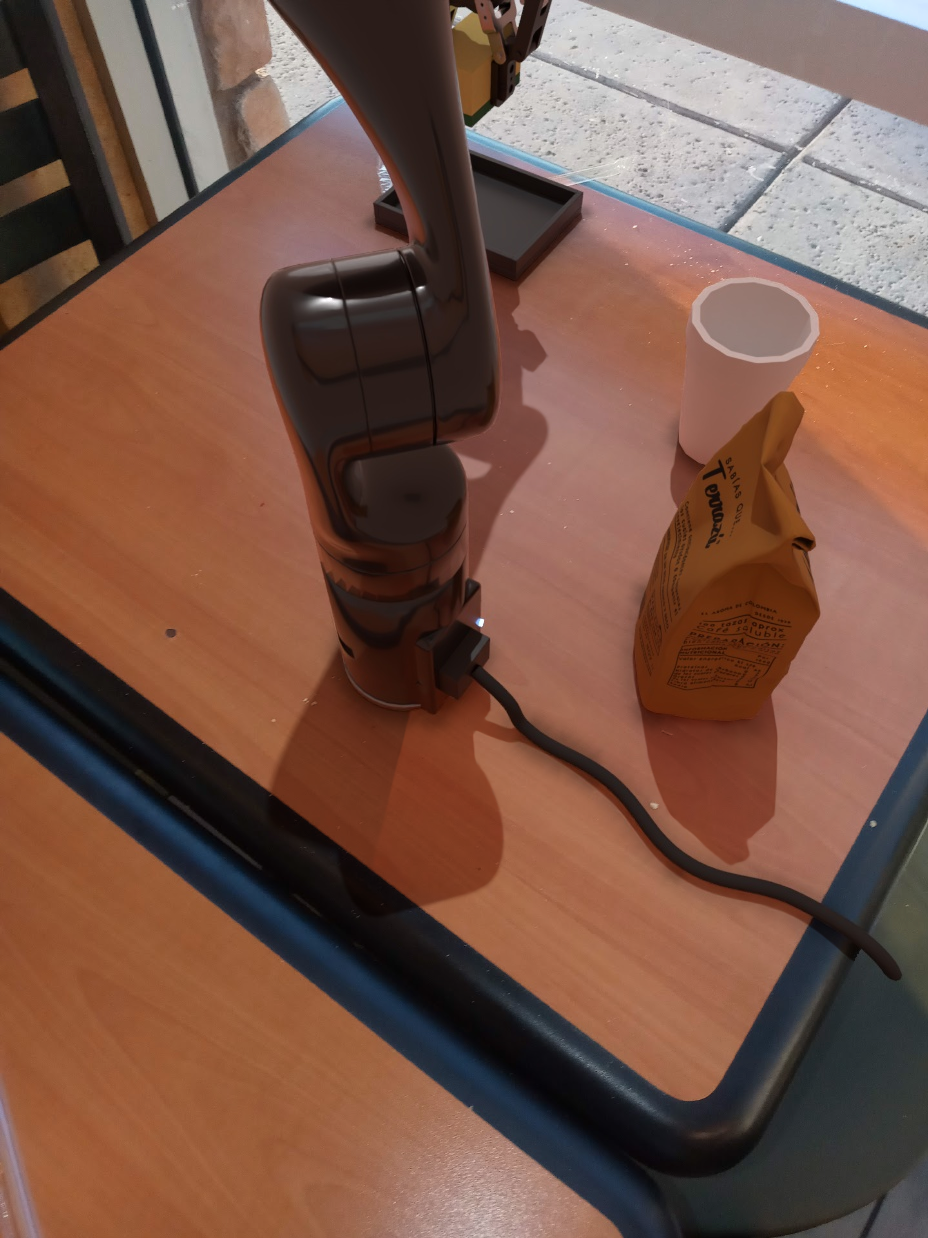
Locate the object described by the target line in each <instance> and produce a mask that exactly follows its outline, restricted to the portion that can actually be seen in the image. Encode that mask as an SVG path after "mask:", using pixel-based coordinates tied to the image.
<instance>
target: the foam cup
mask: <svg viewBox="0 0 928 1238" xmlns="http://www.w3.org/2000/svg"><path fill="white" fill-rule="evenodd" d="M819 321H820V319H819V313H817V312H816V310H815V309H814V307H813V306H812V305H811V304H810V302H809V301H808V299H807V298H806V297H805V296H804V295H802V294H800V293H799V292H797V291H795V290H794V289H792V288H791V287H788V286H787V285H786V284H783V283H782V282H777V281H773V280H769V279H764V278H760V277H757V276H748V277H731V278H725V279H723V280H720V281H718V282H716V283H713V284H711V285H709V286H706V287H704V288H703V289H702V290H701V292H700V293H699V294H698V296H697V297H696V298H695V300H694V301H693V302H692V304H691V308H690V311H689V314H688V319H687V323H686V327H685V348H686V351H685V362H684V363H685V364H684V374H683V384H682V395H681V403H680V415H679V429H678V443H679V445H680V447H681V448H682V450H683V452H684V454H685V455H687V457H690V459H692V460H694V461H695V462H697V463H698V464H700V465H704V466H705V465H706V464H707V463H708V462H709V461H710V460H711V458H712V457H713V456H714V454H715V453H716V452H717V451H718V450H719V449H720V448H721V447H723V446H724V445H725V444H726V443H727V442H729V441H730V440H731V439H732V438H733V437H734V436H735V435H736V433H737V432H738V431H739V430H740V429H741V428H742V426H743V425H744V424H746V423H747V422H748V421H749V420H750V419H751V418H752V417H753V416H754V415H755V414H756V413H758V412H760V411H761V410H762V409H763V408H764V406H765V405H766V404H767V403H768V402H769V401H770V400H771V399H772V398H773V397H774V396H775V395H776V394H778V393H779V392H780V391H782V392H788V390H789V388H790V387H791V385H792V384H793V382H794V381H795V379H796V378H797V376H799V375H800V373H801V372H802V371H803V369H804V368H805V366H806V365H807V363H808V362H809V360H810V359H811V356H812V354H813V351H814V349H815V346H816V344H817V342H818V339H819V337H820V335H821V333H820V322H819Z"/></svg>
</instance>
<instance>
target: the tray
mask: <svg viewBox="0 0 928 1238" xmlns="http://www.w3.org/2000/svg"><path fill="white" fill-rule="evenodd" d="M469 154H470V160H471V166H472V172H473V178H474V184H475V190H476V196H477V202H478V207H479V213H480V219H481V225H482V231H483V237H484V243H485V249H486V255H487V261H488V266H489V272H490V271H491V272H493V273H495V274H497V275H500V276H503V277H505V278H508V279H510V280H513V281H514V282H516V281H517V280H518V279H519V278H520V277H521V276H522V275H523V274H524V273H525V272H526V271H527V269H529V267H530V266H532V264H533V263H535V261H536V260H537V259H538V258H539V257H540V256H541V255H542V254H543V253H544V252H545V251H546V250H547V248H549V247H550V246H551V244H552V243H553V242H554V241H555V240H556V239H557V238H558V237H559V236H560V235H561V234H562V233H563V232H564V231H565V230H566V229H567V228H568V226H570V225H571V224H572V222H573V221H574V220H575V219H576V218H577V217H578V216H579V215H580V214H581V213H582V208H583V201H584V193H585V192H584V191H582V190H579V189H577V188H574V187H571V186H568V185H566V184H564V183H561V182H558V181H555V180H553V179H550V178H548V177H545V176H542V175H540V174H537V173H535V172H531V171H528V170H526V169H523V168H521V167H517V166H515V165H513V164H509V163H507V162H505V161H501V160H499V159H496V158H494V157H491V156H488V155H485V154H483V153H482V152H481V153H480V152H478V151H475V150H472V149H470V148H469ZM372 204H373V213H374V214H373V216H374V221H375V224H378V225H380V226H382V227H386V228H387V229H390V230H393V231H394V232H397V233H400V234H403V235H404V236H408V237H409V234H408V229H407V224H406V220H405V217H404V213H403V210H402V207H401V204H400V201H399V198H398V196H397V193H396V191H395V188H394V186H393V185H392V186H391V187H389V188H388V189H387V190H386V191H385V192H384V193H382V194H381V195H380V196H379V197H378V198H376V199H375V200H374V201H373V202H372Z"/></svg>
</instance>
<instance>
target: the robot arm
mask: <svg viewBox="0 0 928 1238" xmlns="http://www.w3.org/2000/svg"><path fill="white" fill-rule="evenodd" d="M266 1H267V2H268V4H269V5H270V6H271V7H272V9H273V10H274V11H275V12H276V14H277V15H278V16H279V17H280V18H281V20H282V21H283V23H285V26H287V28H288V29H289V30H290V31H291V33H292V34H293V35H294V36H295V37H296V38H297V40H298V41H299V42H300V43H301V45H302V46H303V47H304V48H305V50H306V51H307V53H309V55H310V56H311V57H312V58H313V59H314V60H315V62H316V64H318V66H319V67H320V69H321V70H322V71H323V73H324V74H325V75H326V76H327V78H328V79H329V80H330V82H331V83H332V85H333V86H334V88H336V90H337V91H338V92H339V94H340V96H341V97H342V99H343V100H344V102H345V103H346V105H347V106H348V107H349V109H350V111H351V112H352V114H353V115H354V117H355V119H356V121H357V122H358V123H359V125H360V126H361V128H362V129H363V131H364V133H365V135H366V136H367V138H368V139H369V141H370V142H371V144H372V146H373V148H374V149H375V152H376V153H377V155H378V156H379V158H380V160H381V162H382V164H383V166H384V168H385V170H386V172H387V175H388V177H389V178H390V179H389V180H390V181H391V184H392V186H394V188H395V191H396V193H397V196H398V198H399V201H400V204H401V207H402V210H403V213H404V217H405V220H406V224H407V229H408V234H409V236H408V244H407V245H405V246H399V247H397V248H393V247H392V248H386V249H380V250H374V251H367V252H361V253H357V254H351V255H350V254H349V255H343V256H338V257H337V256H336V257H332V258H330V259H321V260H316V261H315V260H314V261H310V262H303V263H298V264H293V265H288V266H285V267H282V268H279V269H277V270H275V271H274V272H272V273H271V274H270V276H269V277H268V278H267V280H266V281H265V283H264V285H263V288H262V291H261V296H260V300H259V309H258V320H259V321H258V322H259V323H258V325H259V335H260V342H261V346H262V352H263V357H264V362H265V367H266V371H267V373H268V378H269V381H270V384H271V388H272V391H273V395H274V398H275V401H276V404H277V408H278V410H279V413H280V416H281V419H282V422H283V426H284V429H285V431H286V434H287V436H288V441H289V442H290V443H289V444H290V446H291V449H292V451H293V455H294V458H295V462H296V466H297V468H298V471H299V475H300V476H299V477H300V480H301V483H302V489H303V492H304V493H303V494H304V497H305V503H306V509H307V513H308V518H309V522H310V526H311V529H312V534H313V539H314V542H315V546H316V551H317V554H318V559H319V563H320V567H321V571H322V576H323V580H324V584H325V587H326V592H327V596H328V600H329V605H330V608H331V612H329V613H330V615H332V616H333V617H332V616H330V618H331V621H332V622H331V623H332V624H333V625H332V626H333V628H334V632H335V634H336V635H335V636H336V640H337V643H338V646H339V650H340V653H341V657H342V662H343V667H344V671H345V674H346V676H347V679H348V681H349V683H350V684H351V686H352V687H353V688H354V689H355V691H356V692H357V693H358V694H359V695H360V696H361V697H363V698H364V699H366V700H367V701H368V702H370V703H372V704H374V705H376V706H378V707H381V708H384V709H387V710H393V711H401V712H402V711H403V712H405V711H408V712H409V711H417V710H423V711H425V712H427V713H428V714H430V715H433V716H434V715H437V714H438V713H439V712H440V710H441V708H442V707H443V706H444V704H445V703H446V702H447V701H448V699H449V698H450V697H451V698H452V699H454V700H456V701H459V700H460V699H461V698H462V696H463V695H464V694H465V692H466V691H467V689H468V688H469V687H470V685H471V684H472V683H473V682H474V681H475V682H476V683H477V684H479V686H480V687H482V688H483V689H484V690H485V691H486V692H488V694H490V695H491V696H492V697H493V698H494V700H496V702H498V703H499V704H500V706H501V707H502V708H503V710H504V711H505V712H506V714H507V717H508V718H509V720H510V722H511V724H512V725H513V727H514V728H515V729H516V730H517V732H519V733H520V734H521V735H522V736H523V737H525V738H526V739H527V740H528V741H529V742H531V743H532V744H533V745H535V746H536V747H538V748H539V749H540V750H542V751H544V752H546V753H547V754H549V755H552V756H553V757H555V758H557V759H559V760H561V761H563V762H564V763H567V764H568V765H571V766H573V767H575V768H576V769H578V770H580V771H582V772H584V773H585V774H587V775H588V776H590V777H591V778H593V779H594V780H596V781H597V782H599V783H600V784H601V785H602V786H604V787H605V788H606V789H607V790H608V791H610V793H612V794H613V796H614V797H615V798H616V799H617V800H618V801H619V802H620V803H621V804H622V806H623V807H624V808H625V810H626V811H627V812H628V813H629V815H630V816H631V817H632V819H633V820H634V822H635V823H636V824H637V826H638V827H639V828H640V829H641V831H642V832H643V834H644V835H645V836H646V838H647V839H648V840H649V841H650V842H651V844H652V845H653V847H655V848H656V849H657V850H658V851H659V852H660V853H661V855H663V856H664V857H665V858H666V859H667V860H669V861H670V863H672V864H674V865H675V866H676V867H678V868H679V869H680V870H682V871H684V872H686V873H687V874H689V875H691V876H693V877H695V878H697V879H698V880H701V881H704V882H706V883H708V884H712V885H714V886H718V887H722V888H725V889H729V890H734V891H740V892H744V893H749V894H754V895H758V896H763V897H765V898H766V897H767V898H769V899H773V900H777V901H778V902H782V903H784V904H786V905H788V906H790V907H793V908H795V909H797V910H799V911H801V912H802V913H805V914H806V915H809V916H810V917H812V918H814V919H816V920H818V921H819V922H821V923H823V924H825V925H826V926H827V927H829V928H831V929H832V930H834V931H836V932H838V934H840V935H842V936H843V937H844V938H846V939H848V940H849V941H850V942H852V943H853V944H854V945H855V946H857V947H858V948H859V949H860V950H861V951H863V952H864V953H865V954H866V956H868V957H869V958H870V959H871V960H872V962H874V963H875V964H876V965H877V967H878V968H879V969H880V970H881V972H882V973H883V974H884V975H885V977H887V979H889V980H891V981H894V982H898V981H901V980H902V977H903V974H902V971H901V968H900V965H898V963H897V961H896V960H895V959H894V957H893V956H892V955H891V954H890V953H889V952H888V951H887V949H886V948H885V947H884V946H883V945H882V944H881V943H879V942H878V941H877V940H876V938H874V937H873V936H872V935H870V934H869V933H868V932H867V931H865V930H864V929H863V928H861V926H859V925H857V924H856V923H854V921H851V920H850V919H848V918H847V917H845V916H844V915H842V914H840V913H839V912H837V911H836V910H834V909H832V908H830V907H828V906H827V905H825V904H823V903H821V902H819V901H818V900H816V899H814V898H812V897H810V896H808V895H807V894H805V893H803V892H801V891H798V890H795V889H793V888H791V887H789V886H786V885H784V884H781V883H777V882H775V881H772V880H766V879H763V878H758V877H755V876H754V877H753V876H748V875H744V874H738V873H733V872H729V871H725V870H722V869H719V868H715V867H713V866H711V865H708V864H706V863H704V862H702V861H699V860H697V859H696V858H694V857H692V856H691V855H689V854H688V853H687V852H685V851H683V850H682V849H681V848H680V847H678V846H677V845H676V844H675V843H674V842H673V841H672V840H671V839H670V838H669V837H668V836H667V835H666V834H665V833H664V832H663V830H661V828H660V827H659V826H658V824H657V823H656V821H654V819H653V818H652V817H651V815H650V814H649V812H648V811H647V809H645V807H644V805H643V804H642V803H641V802H640V800H639V799H638V798H637V796H636V795H634V793H633V792H632V791H631V790H630V788H629V787H628V786H627V785H625V784H624V782H623V781H621V780H620V779H619V778H618V777H617V776H616V775H615V774H614V773H613V772H611V771H610V770H608V769H607V768H605V767H604V766H602V764H600V763H598V762H597V761H595V760H593V758H590V757H589V756H586V755H585V754H583V753H581V752H579V751H576V750H574V749H573V748H572V747H571V748H570V747H569V746H568V745H565V744H563V743H561V742H559V741H557V740H555V739H554V738H552V737H550V736H548V735H547V734H545V733H544V732H543V731H541V730H540V729H539V728H537V727H536V726H535V725H534V724H533V723H532V722H530V720H528V719H527V717H526V716H525V715H524V713H523V711H522V709H521V706H520V704H519V702H518V701H517V700H516V698H514V696H513V695H512V694H511V693H510V691H509V690H508V689H507V688H506V687H505V686H504V685H503V684H502V683H500V682H499V681H498V680H497V679H496V678H495V677H494V676H492V674H490V673H489V672H488V671H487V670H486V669H485V668H484V667H485V665H486V664H487V663H488V661H489V660H490V652H491V651H490V650H491V638H490V637H489V636H487V635H485V634H484V633H483V632H481V631H482V630H481V629H482V627H483V625H484V621H485V619H483V618H482V584H481V582H479V581H478V580H476V579H474V578H472V577H471V576H469V507H470V506H469V504H470V503H469V502H470V499H469V497H470V496H469V495H470V494H469V492H470V491H469V483H468V476H467V472H466V470H465V467H464V464H463V462H462V461H461V459H460V456H459V455H458V454H457V453H456V451H455V450H454V448H453V447H452V446H451V445H450V444H452V443H457V442H462V441H465V440H470V439H473V438H477V437H480V436H482V435H484V434H485V433H486V432H488V431H489V430H491V428H493V426H494V424H495V423H496V422H497V420H498V416H499V413H500V409H501V403H502V398H503V397H502V396H503V367H502V366H503V364H502V363H503V362H502V350H501V339H500V338H501V337H500V331H499V325H498V318H497V311H496V305H495V304H496V303H495V297H494V291H493V285H492V279H491V273H490V270H489V266H488V261H487V255H486V249H485V243H484V237H483V231H482V225H481V219H480V213H479V207H478V202H477V196H476V190H475V184H474V178H473V172H472V166H471V160H470V154H469V149H470V148H469V141H468V137H467V130H466V126H465V123H464V117H463V110H462V104H461V96H460V89H459V82H458V75H457V67H456V59H455V50H454V42H453V33H452V28H453V25H454V22H455V19H456V16H457V13H458V9H459V8H465V9H468V11H471V12H474V13H476V14H478V16H479V20H480V24H481V28H482V31H483V33H484V34H487V36H488V40H489V43H490V47H491V51H492V55H493V59H494V60H493V61H492V62H491V88H490V104H491V105H493V106H494V108H500V107H501V106H502V105H504V103H505V102H506V101H507V100H508V99H509V98H510V97H512V96H513V95H514V92H515V90H516V87H515V78H516V77H515V76H516V62H518V63H521V64H522V63H523V62H524V61H526V60H527V58H528V57H529V56H530V55H531V54H532V53H533V52H536V50H538V49H539V47H540V46H541V42H542V39H543V35H544V31H545V27H546V24H547V20H548V16H549V13H550V10H551V7H552V4H553V3H552V2H553V0H519V3H520V5H522V10H521V14H520V19H519V21H518V25H517V22H516V17H517V15H518V10H517V5H516V1H515V0H266ZM496 9H497V11H496V12H495V10H496ZM517 27H518V30H517Z"/></svg>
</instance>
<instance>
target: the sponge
mask: <svg viewBox="0 0 928 1238" xmlns="http://www.w3.org/2000/svg"><path fill="white" fill-rule="evenodd" d="M517 30H518V26H517ZM452 33H453V42H454V50H455V59H456V67H457V75H458V82H459V89H460V96H461V104H462V110H463V117H464V123H465V127H468V128H470V129H471V128H473V127H474V126H475V125H476V124H477V123H478V122H479V121H481V120H482V119H483V118H484V117H485V116H486V115H487V114H488V113H489V112H490V111H491V110H492V109H494V108H495V106H493V105H491V104H490V88H491V62H492V61H493V60H494V59H493V55H492V51H491V47H490V43H489V40H488V36H487V34H484V33H483V31H482V28H481V24H480V20H479V16H478V14H476V13H474V12H472V11H471V12H470V13H468V14H467V15H466V16H465V17H463V19H462V20H460V21H459V22H458V23H456V25H454V26H452ZM521 64H522V62H521V63H518V62H516V76H515V77H516V78H515V88H516V87H518V85H520V82H521V80H520V79H521V66H522V65H521Z"/></svg>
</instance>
